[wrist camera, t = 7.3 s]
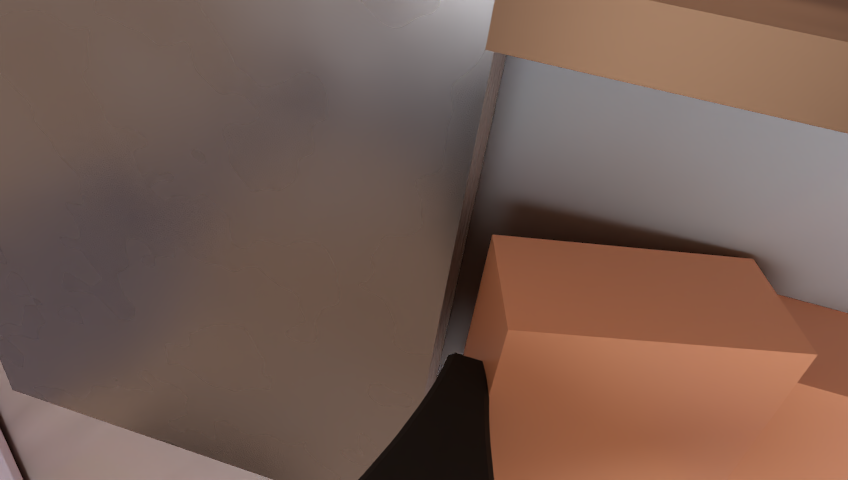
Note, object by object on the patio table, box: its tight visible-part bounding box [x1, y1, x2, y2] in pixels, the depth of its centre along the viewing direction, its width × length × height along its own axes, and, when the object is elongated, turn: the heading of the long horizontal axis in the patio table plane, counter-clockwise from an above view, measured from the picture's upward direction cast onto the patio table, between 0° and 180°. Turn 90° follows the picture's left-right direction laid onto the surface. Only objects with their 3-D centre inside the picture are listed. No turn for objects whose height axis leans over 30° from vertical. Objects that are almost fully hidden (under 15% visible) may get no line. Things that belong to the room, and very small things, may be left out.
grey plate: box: [0, 0, 506, 480], centre depth 15 cm, size 12×14×2 cm
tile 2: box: [463, 235, 818, 480], centre depth 12 cm, size 5×5×2 cm
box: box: [485, 0, 848, 133], centre depth 12 cm, size 12×15×3 cm
